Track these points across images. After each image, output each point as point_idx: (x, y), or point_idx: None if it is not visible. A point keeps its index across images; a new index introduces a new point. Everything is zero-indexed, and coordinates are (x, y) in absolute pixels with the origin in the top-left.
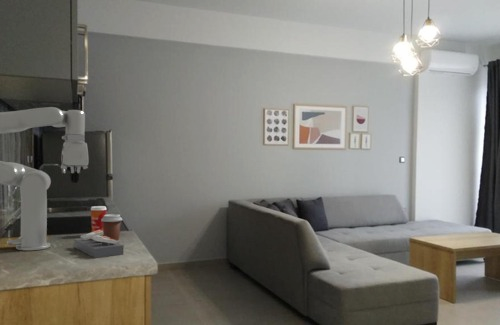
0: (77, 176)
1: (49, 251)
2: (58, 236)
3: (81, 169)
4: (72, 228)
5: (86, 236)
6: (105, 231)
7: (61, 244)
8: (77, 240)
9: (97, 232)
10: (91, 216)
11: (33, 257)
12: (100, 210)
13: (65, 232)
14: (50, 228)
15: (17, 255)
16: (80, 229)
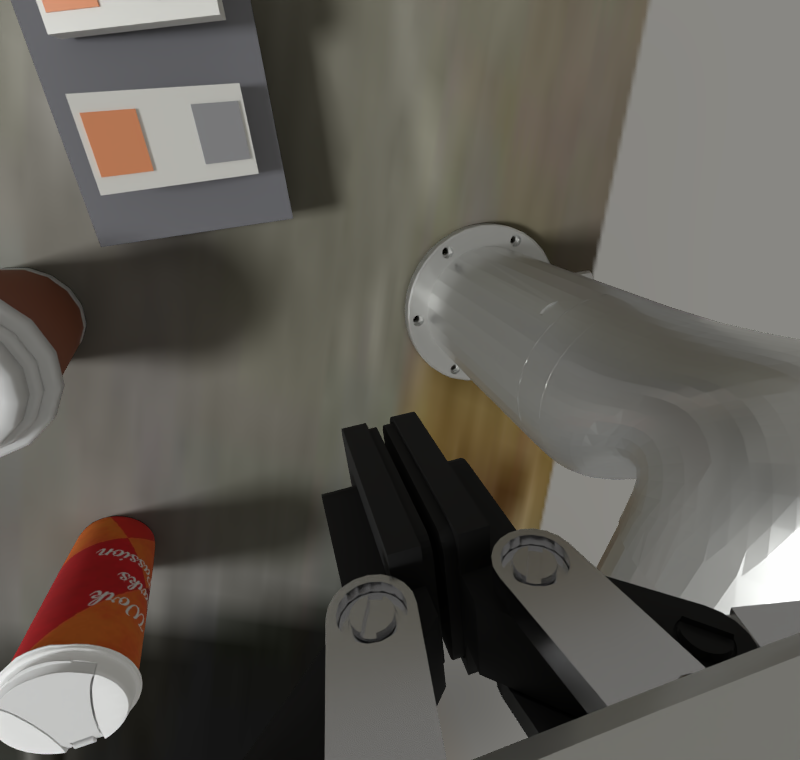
0: (369, 497)
1: (427, 163)
2: (331, 558)
3: (276, 751)
4: (245, 735)
5: (224, 16)
6: (51, 311)
7: (344, 342)
8: (279, 154)
9: (120, 110)
10: (141, 630)
11: (524, 26)
12: (52, 648)
13: (288, 647)
14: None
15: (572, 136)
16: (208, 710)
